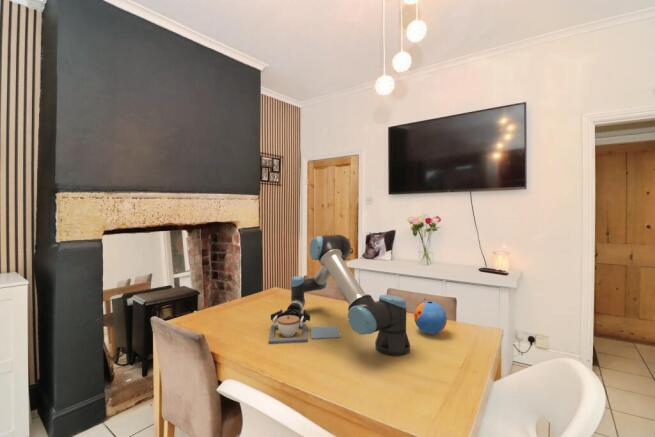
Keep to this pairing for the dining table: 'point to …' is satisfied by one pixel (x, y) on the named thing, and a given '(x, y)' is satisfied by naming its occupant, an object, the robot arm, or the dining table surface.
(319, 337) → the pad
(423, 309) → the treat dispenser ball
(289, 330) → the lidded jar
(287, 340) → the puzzle board
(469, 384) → the dining table surface
